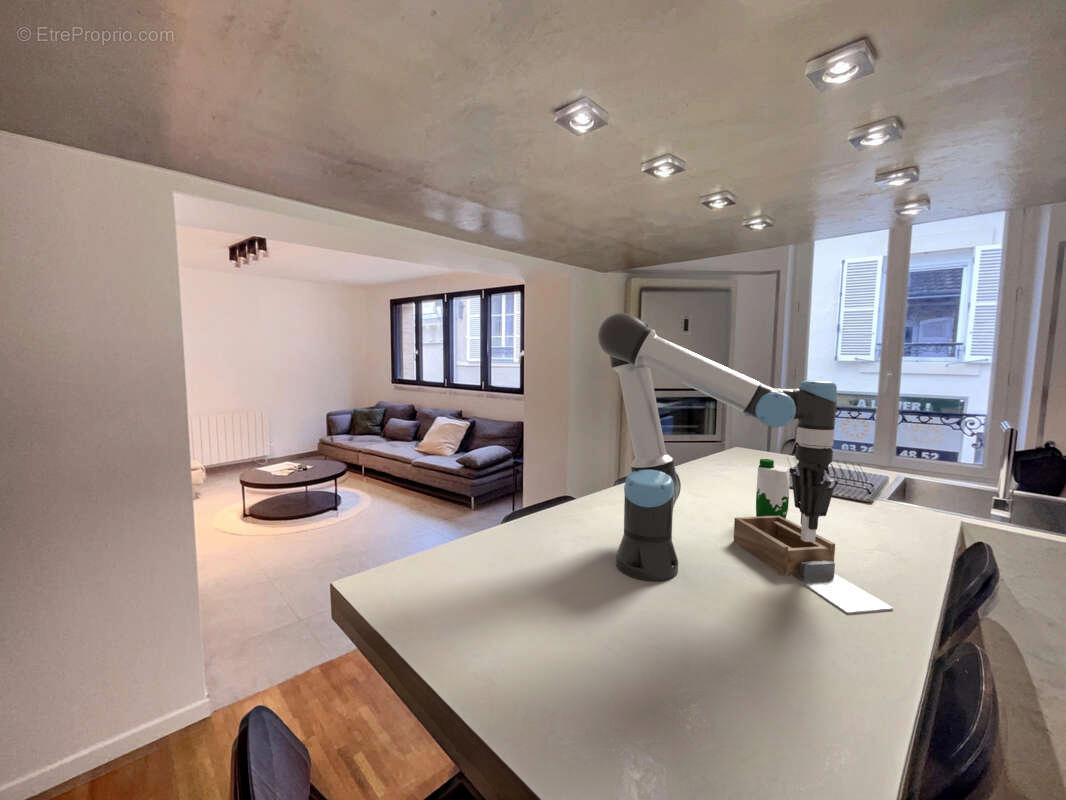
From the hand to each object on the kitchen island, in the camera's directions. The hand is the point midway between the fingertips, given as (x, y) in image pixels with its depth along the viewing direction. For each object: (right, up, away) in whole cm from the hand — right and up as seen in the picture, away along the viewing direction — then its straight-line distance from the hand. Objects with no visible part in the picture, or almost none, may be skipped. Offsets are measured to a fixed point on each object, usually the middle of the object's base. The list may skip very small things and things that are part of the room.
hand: (807, 540), depth 109 cm
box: (-1, -7, +10) cm, 12 cm away
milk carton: (+9, -5, +34) cm, 36 cm away
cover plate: (+2, -9, -8) cm, 13 cm away
